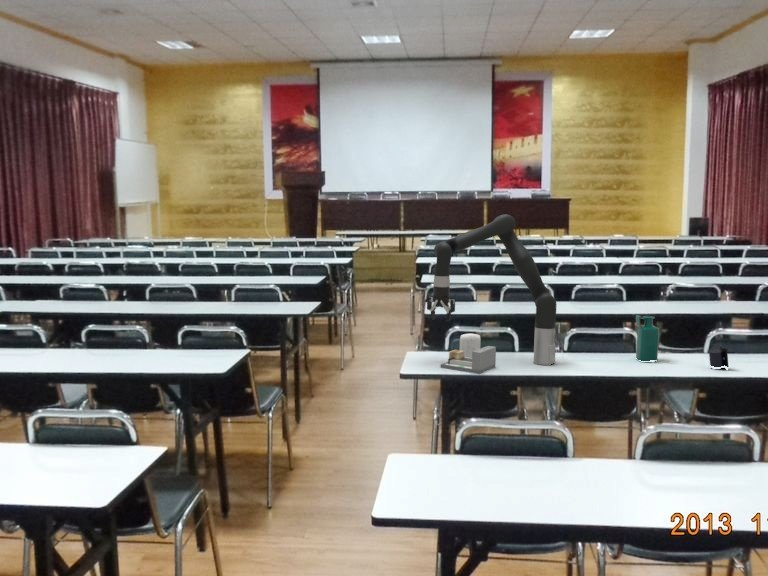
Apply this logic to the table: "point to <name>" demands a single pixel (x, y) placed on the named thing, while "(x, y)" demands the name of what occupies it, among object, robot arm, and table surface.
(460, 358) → the gauge carriage
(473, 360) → the base
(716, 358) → the speaker
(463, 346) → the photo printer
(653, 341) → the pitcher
